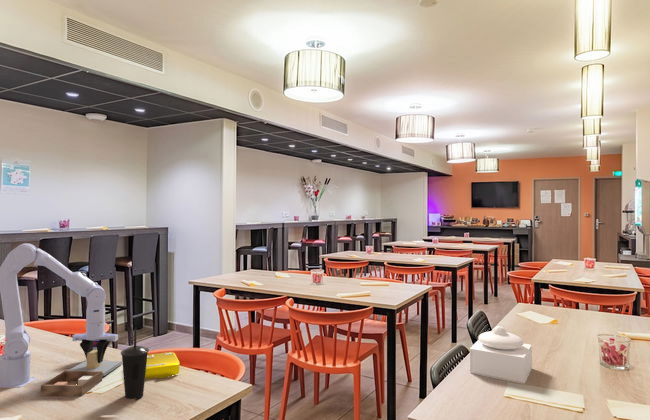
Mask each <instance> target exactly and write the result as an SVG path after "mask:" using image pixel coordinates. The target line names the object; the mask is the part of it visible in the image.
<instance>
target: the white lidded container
mask: <svg viewBox="0 0 650 420" xmlns="http://www.w3.org/2000/svg"><path fill="white" fill-rule="evenodd" d="M477 338H478V340H477V341H475V342H474V343H473V345H472V346H471V347H469V352H470V354H469V355H470V357H469V360H470V361H469V363H470V364H469V366H470V369H469V371H470V374H472V375H478V376H482V377H488V378H493V379H497V380H503V381H506V382H507V381H508V382H513V383H516V384H517V383H518V384H522V385H525V384H526V382H527V380H528V379H529V376H530V374H531V372H532V370H533V345H532V344H530V343H529V344H528V343H525V342H524V340H523V339H522V338H521V337H520V336H518V335H516V334H514V333H511V332H507V329H506V328H505V327H504V326H501V325H497V326H494V328H492V330H490V331H489V330H488V331H485V332H482V333H480V334H479V335H478V336H477Z"/></svg>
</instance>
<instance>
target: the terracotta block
mask: <svg viewBox="0 0 650 420" xmlns="http://www.w3.org/2000/svg"><path fill="white" fill-rule="evenodd" d="M54 385H68V382H57V383H55V384H54Z"/></svg>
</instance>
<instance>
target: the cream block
mask: <svg viewBox="0 0 650 420" xmlns="http://www.w3.org/2000/svg"><path fill="white" fill-rule="evenodd" d="M91 377H93V376H82V377H81V378H80V379H78V385H81V384H83V383H84V382H86V381H87V380H89V379H90V378H91Z"/></svg>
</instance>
